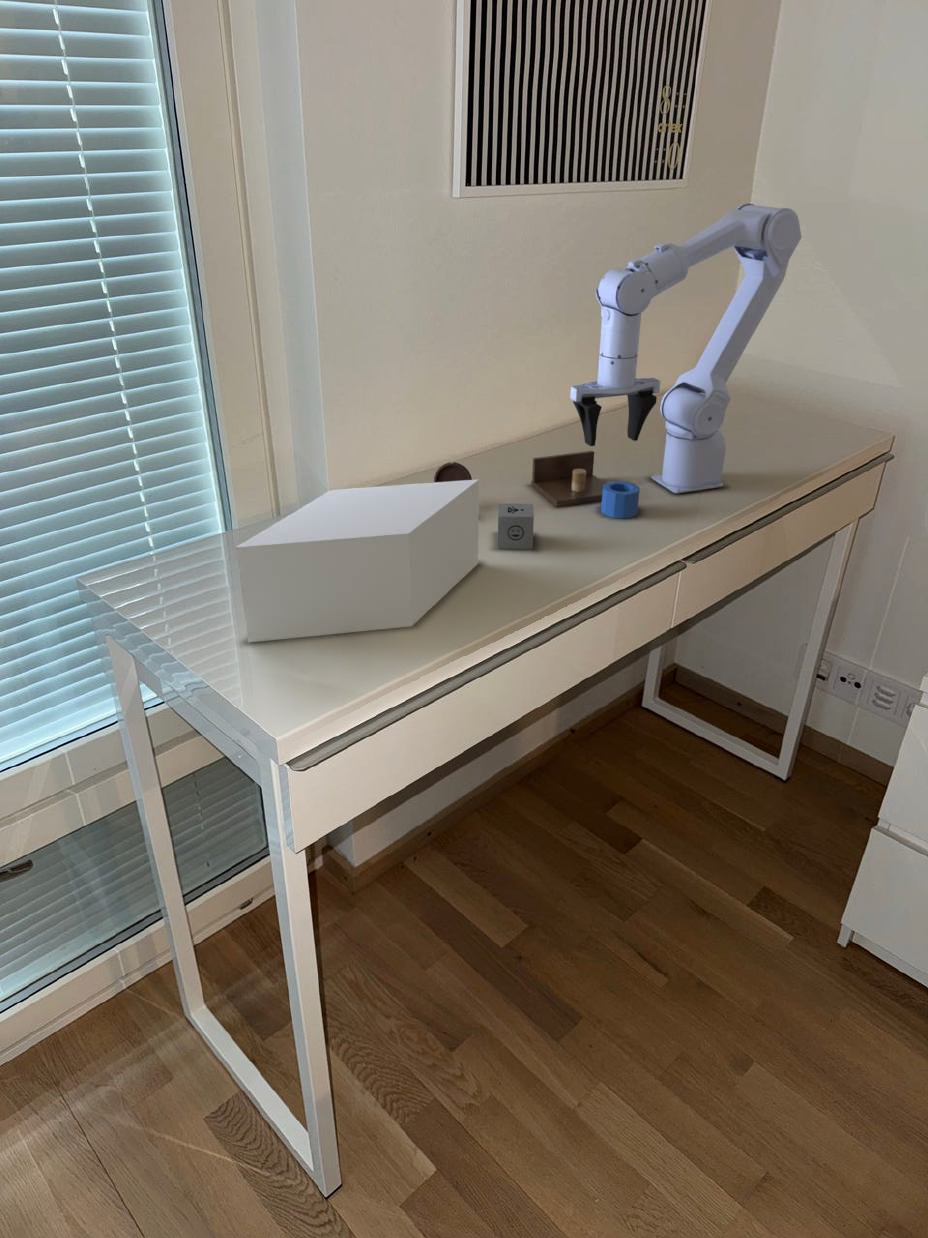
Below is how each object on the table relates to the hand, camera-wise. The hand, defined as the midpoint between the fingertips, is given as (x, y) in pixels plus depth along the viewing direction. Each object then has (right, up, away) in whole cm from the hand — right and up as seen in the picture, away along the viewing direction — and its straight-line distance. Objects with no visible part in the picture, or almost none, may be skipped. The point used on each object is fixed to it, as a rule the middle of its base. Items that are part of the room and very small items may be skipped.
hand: (611, 441), depth 144 cm
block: (-35, -26, -26) cm, 51 cm away
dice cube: (-16, -17, -11) cm, 26 cm away
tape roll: (+1, -11, -1) cm, 11 cm away
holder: (-5, -7, +7) cm, 11 cm away
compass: (-25, -12, -2) cm, 28 cm away
